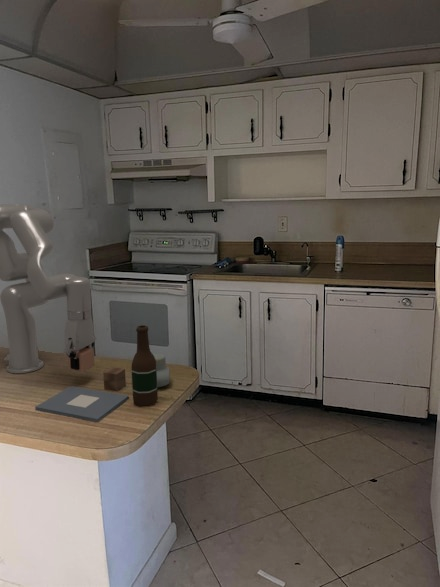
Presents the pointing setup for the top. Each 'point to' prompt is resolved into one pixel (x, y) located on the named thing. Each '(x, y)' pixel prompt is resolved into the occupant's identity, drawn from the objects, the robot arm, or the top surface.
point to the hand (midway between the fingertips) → (81, 365)
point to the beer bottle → (144, 371)
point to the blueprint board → (82, 403)
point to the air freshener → (162, 370)
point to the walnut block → (114, 379)
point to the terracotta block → (84, 359)
